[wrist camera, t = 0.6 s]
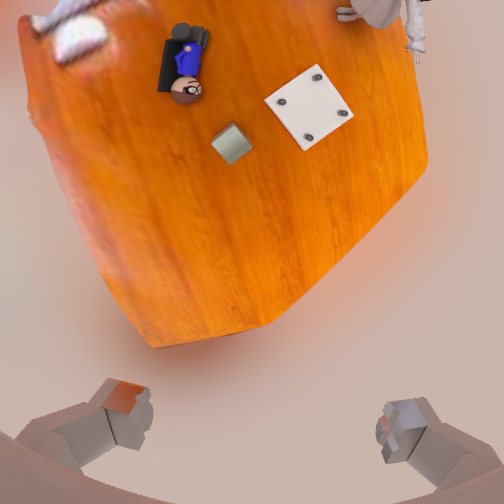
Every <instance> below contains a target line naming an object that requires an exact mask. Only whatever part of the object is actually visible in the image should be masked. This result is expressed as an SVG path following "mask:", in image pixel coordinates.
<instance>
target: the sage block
mask: <svg viewBox="0 0 504 504" xmlns="http://www.w3.org/2000/svg"><path fill="white" fill-rule="evenodd" d="M211 145H212V146H213V147H214V148H215V149H216V150H217V151H218V152H219V154H220V155H221V156H222V157H223V158H224V159H225V160H226V161H227V163H228V164H229V165H231V164H232V163H234V162H235V161H236V160H237V159H239V158H240V157H241V156H242V155H244V154H245V153H246V152H247V151H249V150H250V149H251V148H253V147H252V145H251V143H250V141H249V139H248V138H247V137H246V135H245V134H244V133H243V132H242V131H241V129H240V128H239V127H238V126H237V125H236V124H235V123H234V121H233V122H232V123H230V124H229V125H228V126H227V127H225V128H224V129H223V130H222V131H220V132H219V133H218V134H217V135H216V136H214V138H213V141H212V143H211Z"/></svg>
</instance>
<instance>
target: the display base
mask: <svg viewBox="0 0 504 504" xmlns="http://www.w3.org/2000/svg"><path fill="white" fill-rule="evenodd" d="M264 101H265V103H266V104H267V105H268V106H269V108H270V109H271V110H272V111H273V112H274V114H275V115H276V116H277V117H278V119H279V120H280V121H281V122H282V124H283V125H284V126H285V128H286V129H287V130H288V131H289V133H290V134H291V135H292V137H293V138H294V139H295V140H296V142H297V143H298V144H299V146H300V147H301V148H302V150H304V151H305V150H307V149H308V148H310V147H311V146H312V145H314V144H315V143H316V142H318V141H319V140H321V139H322V138H323V137H325V136H326V135H327V134H329V133H330V132H332V131H333V130H335V129H336V128H337V127H339V126H340V125H342V124H343V123H344V122H346V121H347V120H349V119H350V118H352V117H353V116H354V115H353V114H352V112H351V111H350V109H349V107H348V106H347V105H346V103H345V102H344V100H343V99H342V97H341V96H340V94H339V93H338V91H337V90H336V89H335V87H334V86H333V84H332V83H331V82H330V80H329V79H328V78H327V76H326V75H325V74H324V72H323V71H322V70H321V68H320V67H319V66H318V64H315V65H313V66H312V67H310V68H309V69H307V70H306V71H304V72H303V73H301V74H300V75H298V76H297V77H295V78H294V79H292V80H291V81H289V82H288V83H286V84H285V85H283V86H282V87H281V88H279V89H278V90H276V91H275V92H274V93H272V94H271V95H269V96H268V97H267V98H265V99H264Z"/></svg>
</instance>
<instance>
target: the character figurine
mask: <svg viewBox="0 0 504 504" xmlns="http://www.w3.org/2000/svg"><path fill="white" fill-rule="evenodd" d="M208 35H209V32H208V30H206V31H204V28H203V26H202V27H201V28H200V27H198V26H193V27H190V25H188V24H186V23H179V24H177V25H176V26H175V27H174V28H173V30H172V37H173V39H168V40H166V41H165V47H164V52H163V58H162V64H161V70H160V77H159V84H158V91H157V92H170V93H171V95H172V97H173V99H174V100H175V101H176V102H178V103H180V104H190V103H193V102H194V101H196V100H197V99H198V97H199V96H200V93H201V86H200V83H199V82H198V81H197V80H196V79H195V78H194V77H196V76H197V73H198V70H199V68H200V66H201V65H200V55H201V50H202V49H206V45H207V40H208ZM202 41H203V42H202ZM201 42H202V44H201ZM183 76H185V77H183Z"/></svg>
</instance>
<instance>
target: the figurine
mask: <svg viewBox="0 0 504 504" xmlns="http://www.w3.org/2000/svg"><path fill="white" fill-rule="evenodd" d="M405 1H406V7H407V23H406V27H405V29H406V34H407V36H408V37H409V38H410V39H411V41H410V42H409V44H408V45H407V46H406V47H405V48H407V49H408V50H407V51H406V52H408V51H412V52H413V60H414V62H415V57H416V64H417V62H418V63H420V61H421V53H420V52H423V53H426V52H425V50H424V48H423V45H422V43H421V41H422V40H424V39H425V34H426V33H425V28H424V22H423V18H422V14H421V10H420V5H419V0H405ZM422 1H430V0H420V2H422ZM350 3H351V5H352V8H346V7H339V8H337V11H336V12H338V13H339V14H347V15H351V16H347V15H338V16H337V19H338V21H341V22H348V21H354V20H356V19H357V18H363V19H364V20H365V21H366V22H367V23H368V24H369V25H371V26H372V27H374V28H377V29H384V28H387V27H388V26H389V25H390V24H391V23H393V22H394V21H396V20H397V18H398V15H399V12H400V8H401V0H350ZM356 12H357V14H355V13H356ZM352 14H355V15H352Z"/></svg>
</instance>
